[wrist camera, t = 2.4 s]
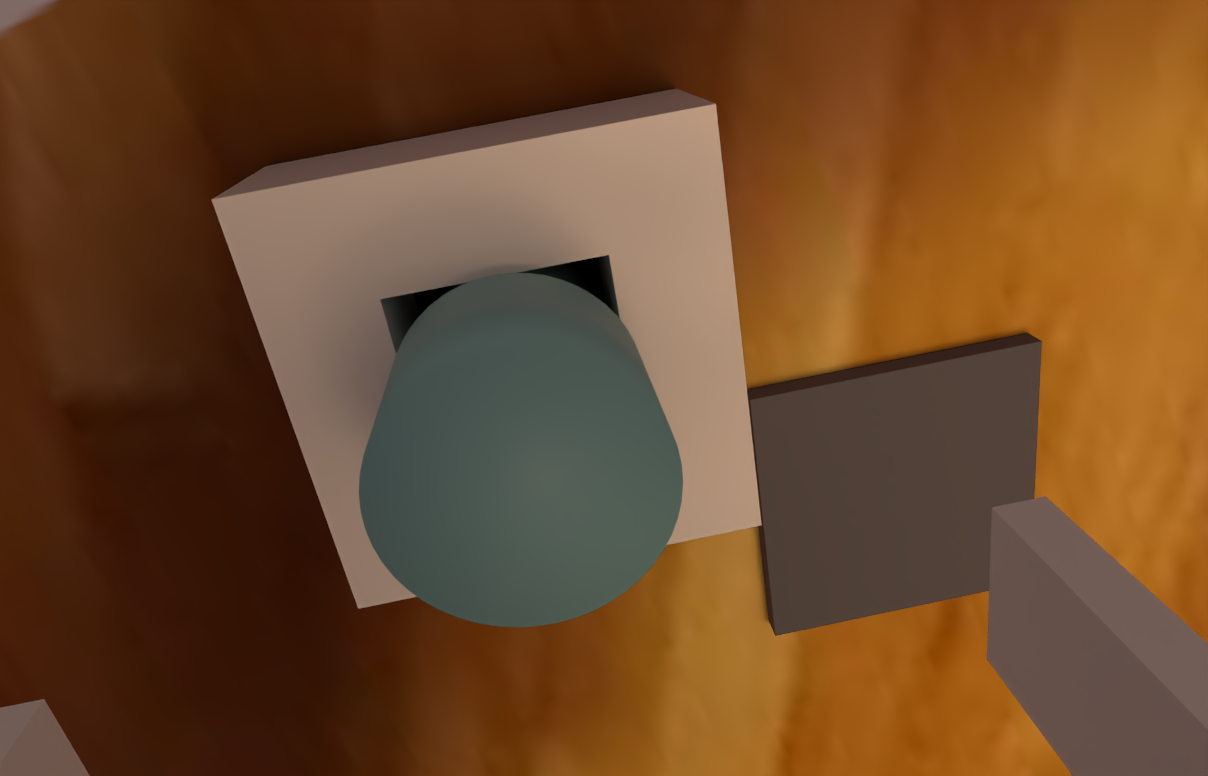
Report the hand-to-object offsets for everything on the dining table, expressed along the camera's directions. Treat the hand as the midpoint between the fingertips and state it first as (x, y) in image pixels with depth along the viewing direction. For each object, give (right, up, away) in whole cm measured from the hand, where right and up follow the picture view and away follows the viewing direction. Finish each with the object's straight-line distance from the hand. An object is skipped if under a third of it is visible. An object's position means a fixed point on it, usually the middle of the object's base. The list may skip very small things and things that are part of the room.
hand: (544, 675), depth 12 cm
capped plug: (-2, +6, +15) cm, 16 cm away
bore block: (-2, +6, +15) cm, 16 cm away
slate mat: (+11, 0, +19) cm, 22 cm away
